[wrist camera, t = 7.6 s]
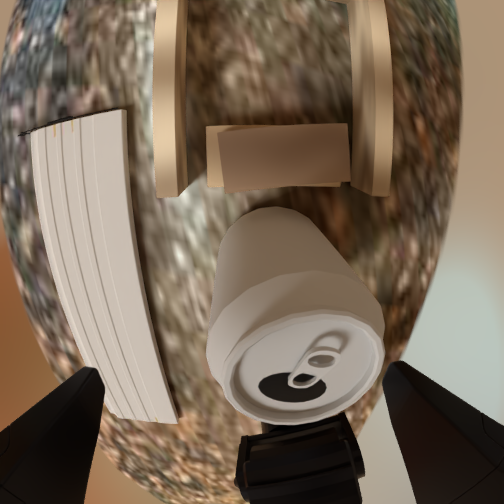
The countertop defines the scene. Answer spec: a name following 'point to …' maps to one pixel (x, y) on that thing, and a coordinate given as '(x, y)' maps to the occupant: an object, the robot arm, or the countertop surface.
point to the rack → (363, 84)
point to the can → (290, 322)
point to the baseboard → (100, 258)
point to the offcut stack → (277, 156)
